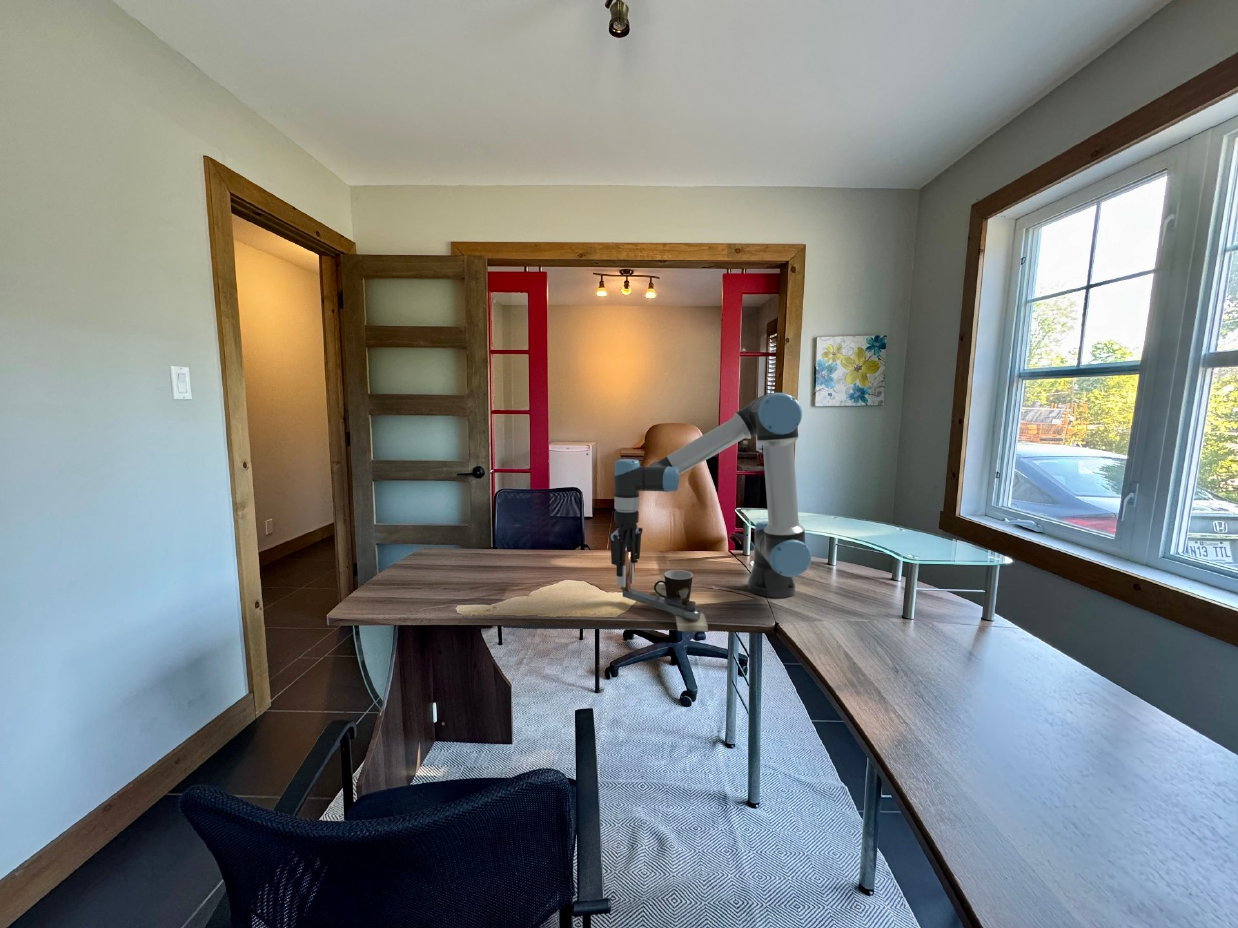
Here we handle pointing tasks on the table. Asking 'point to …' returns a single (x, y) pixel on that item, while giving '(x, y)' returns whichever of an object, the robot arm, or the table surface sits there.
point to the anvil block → (660, 589)
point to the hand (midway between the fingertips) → (625, 584)
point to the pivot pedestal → (691, 625)
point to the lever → (665, 604)
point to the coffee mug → (677, 584)
